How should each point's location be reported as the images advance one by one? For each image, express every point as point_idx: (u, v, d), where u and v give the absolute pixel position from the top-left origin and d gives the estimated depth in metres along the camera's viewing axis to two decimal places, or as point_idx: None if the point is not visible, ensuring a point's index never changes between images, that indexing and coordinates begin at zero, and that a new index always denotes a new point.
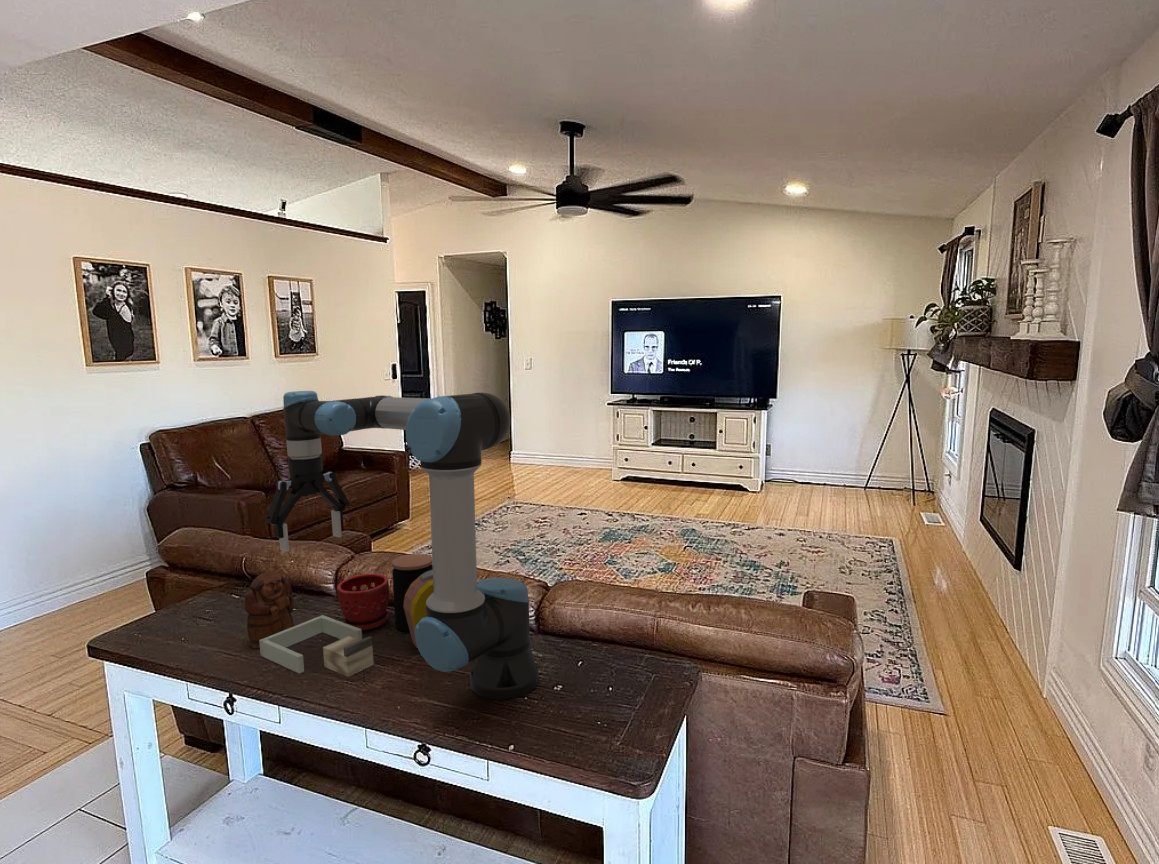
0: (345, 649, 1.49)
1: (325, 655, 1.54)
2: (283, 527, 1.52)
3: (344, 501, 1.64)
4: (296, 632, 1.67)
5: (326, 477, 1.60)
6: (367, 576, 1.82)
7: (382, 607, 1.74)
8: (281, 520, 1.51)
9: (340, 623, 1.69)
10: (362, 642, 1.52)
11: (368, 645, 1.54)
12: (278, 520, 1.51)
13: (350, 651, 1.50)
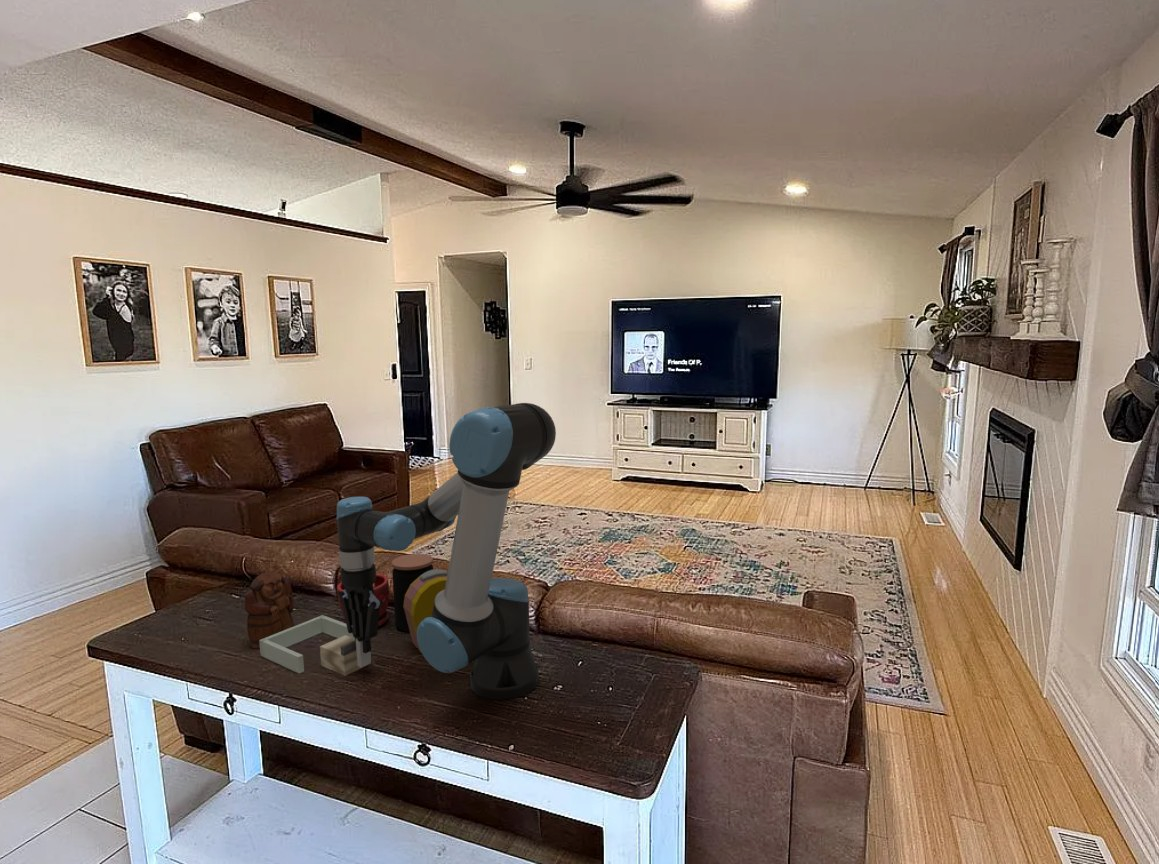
0: (342, 648, 1.49)
1: (322, 654, 1.54)
2: None
3: (366, 632, 1.48)
4: (296, 632, 1.67)
5: (370, 600, 1.46)
6: None
7: (382, 607, 1.74)
8: (353, 633, 1.50)
9: (340, 623, 1.69)
10: None
11: None
12: None
13: (347, 650, 1.50)
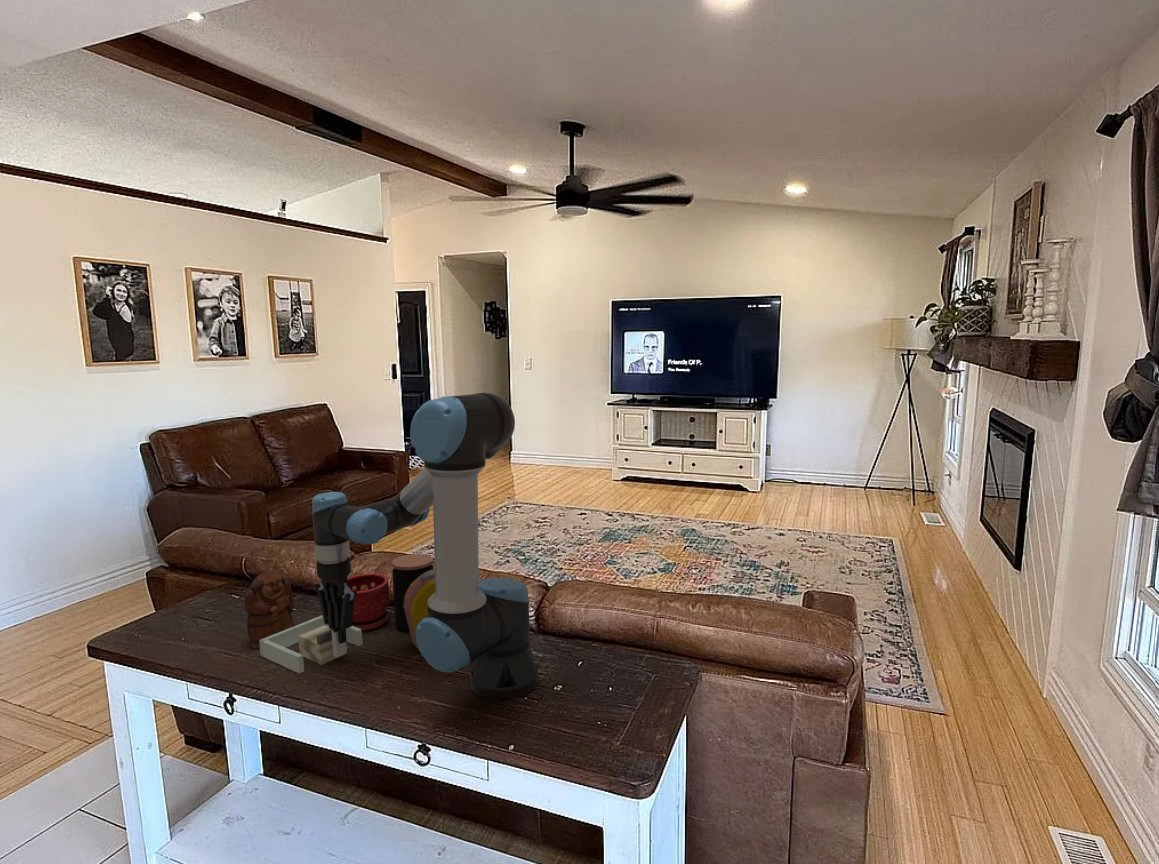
0: (318, 637, 1.55)
1: (300, 643, 1.60)
2: None
3: (341, 623, 1.53)
4: (296, 632, 1.67)
5: (345, 592, 1.51)
6: (367, 576, 1.82)
7: (382, 607, 1.74)
8: (329, 624, 1.55)
9: None
10: None
11: None
12: None
13: (323, 639, 1.55)
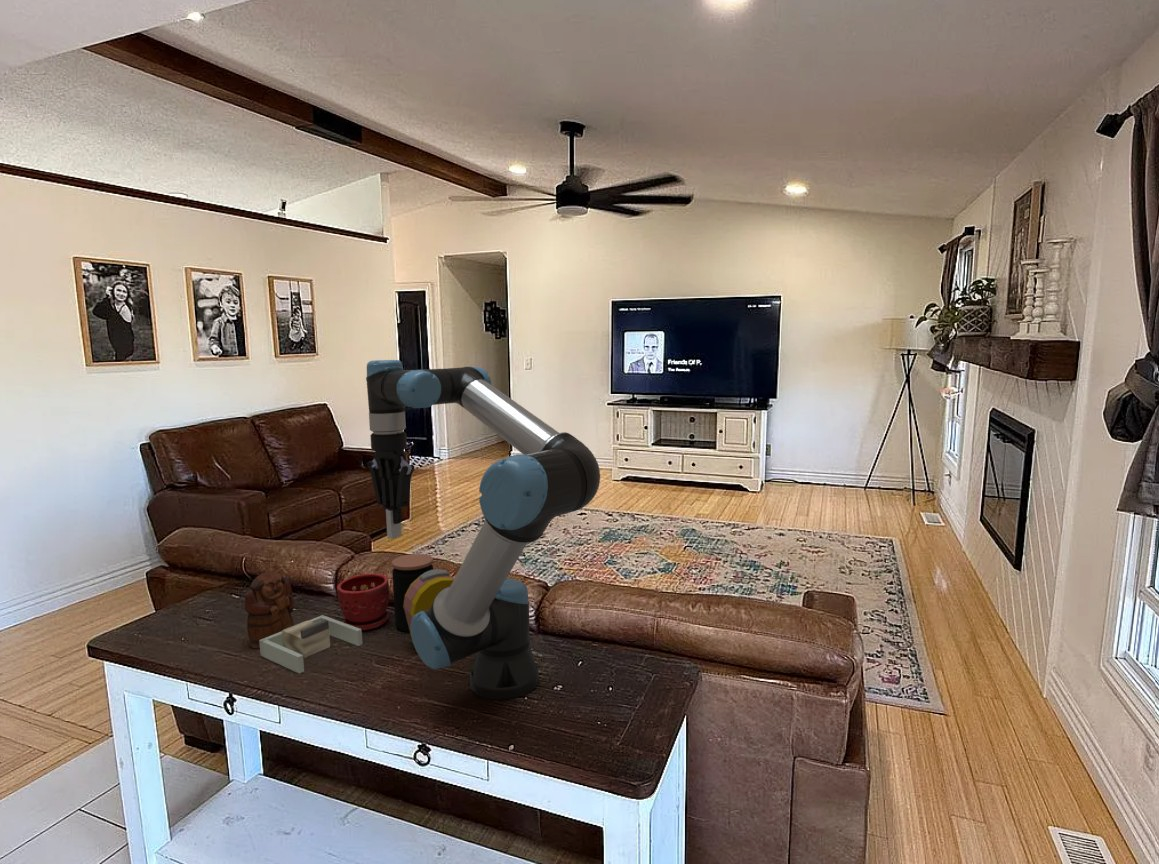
0: (302, 631, 1.58)
1: (284, 638, 1.63)
2: None
3: (397, 500, 1.42)
4: None
5: (402, 465, 1.41)
6: (367, 576, 1.82)
7: (382, 607, 1.74)
8: (383, 504, 1.45)
9: (340, 623, 1.69)
10: (319, 625, 1.62)
11: (325, 628, 1.63)
12: None
13: (307, 633, 1.59)
